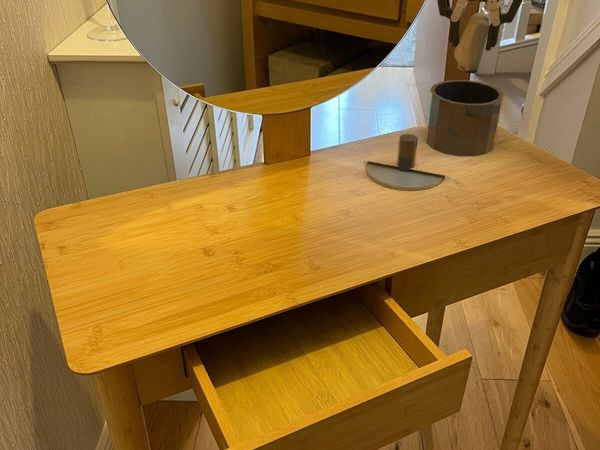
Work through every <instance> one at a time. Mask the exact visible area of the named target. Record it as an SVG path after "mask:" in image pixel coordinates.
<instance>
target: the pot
mask: <svg viewBox="0 0 600 450" xmlns="http://www.w3.org/2000/svg"><path fill="white" fill-rule="evenodd" d="M428 94H429V95H428V104H427V110H426V111H427V112H426V121H425V128H424V136H423V137H424V141H425V144H426V145H427V146H428V147H430V148H431V149H432V150H434V151H437V152H438V153H441V154H445V155H448V156H449V155H450V156H454V157H477V156H482V155H486V154H488V153H490V152H492V151H493V150H494V148H495V145H496V139H497V134H498V129H499V123H500V118H501V112H502V107H503V101H504V93H503V91H502V90H501V89H500V88H498V87H496V86H494V85H492V84H489V83H485V82H481V81H476V80H470V79H469V80H468V79H450V80H443V81H439V82H437V83H434V84H432V86H430V89H429V93H428Z"/></svg>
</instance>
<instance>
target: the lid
mask: <svg viewBox="0 0 600 450" xmlns="http://www.w3.org/2000/svg"><path fill="white" fill-rule="evenodd" d="M418 141H419V138H418V136H416V135H415V134H412V133H403V134H401V135H399V137H398V148H397V160H396V166H395V165H390V164H385V163H380V162H374V161H369V160H368V161H367V162H366V164H365V173H366V175H367V176H368V178H369V179H370V180H371V181H372V182H374V183H376V184H378V185H381V186H383V187H386V188H389V189H393V190H398V191H408V192H409V191H423V190H428V189H432V188H434V187H436V186H438V185H440V184H441V183H442V182H443V181H444V180H445V178H446V175H445V174H439V173H433V172H429V171H423V170H417V169H413V168H415V167H416V159H417V151H418V143H419V142H418Z"/></svg>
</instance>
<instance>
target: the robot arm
mask: <svg viewBox="0 0 600 450" xmlns="http://www.w3.org/2000/svg"><path fill="white" fill-rule="evenodd" d="M474 1H477V0H457V1H456V3H455V6H454V8H453V7H452V6H451V1H450V0H437V6H438V14H439V15H440V17H445V18H446V19H448V20H449V22H450V25H449V33H448V42H449V43H451V47H453V48H454V47H455V48H456V47H457V44H458V42H459V39H460V36H461V33H462V31H461V30H462V24H463V19H462V16H463V14H464V12H465V9H466V7H467V4H468V3H469V2H474ZM478 1H480V2H482V3H487V7H488V12H489V16H490V23H489V31H488V35H487V38H486V42H485V51H487V52H488V51H489V52H491V51H492V48H495V47H496V45H497V43H498V41H499V35H500V29H501V26H502V25H503V24H511V23H512V22H513V21H514V19H515V17H516V15H517V13H518V11H519V9H520V7H521V5H522V3H523V1H524V0H512V2H511V4H510V6H509V8H508V10H507V11H506V12H502V7H501V5H502V4H501V3H502V2H501V0H478Z"/></svg>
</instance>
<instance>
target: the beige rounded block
mask: <svg viewBox="0 0 600 450" xmlns="http://www.w3.org/2000/svg"><path fill="white" fill-rule="evenodd" d="M489 26H490V23H489V16H488V14H486V12H476V13H474V14H472V15H471V16H470V17H469V19H468V20H467V21H466V23H465V25H464V27H463V29H462V31H461V33H460V39H459V42H458V44H457V47H455V48H454V53H453V55H454V59H455V60H456V62H457V63H458V64H457V66H456V68H457V69H458V70H460V71H462V72H464V73H466V74H476V73H478V69H479V67H480V64H481V60H482V56H483V53H484V49H485V47H486V43H487V37H488V31H489Z"/></svg>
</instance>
